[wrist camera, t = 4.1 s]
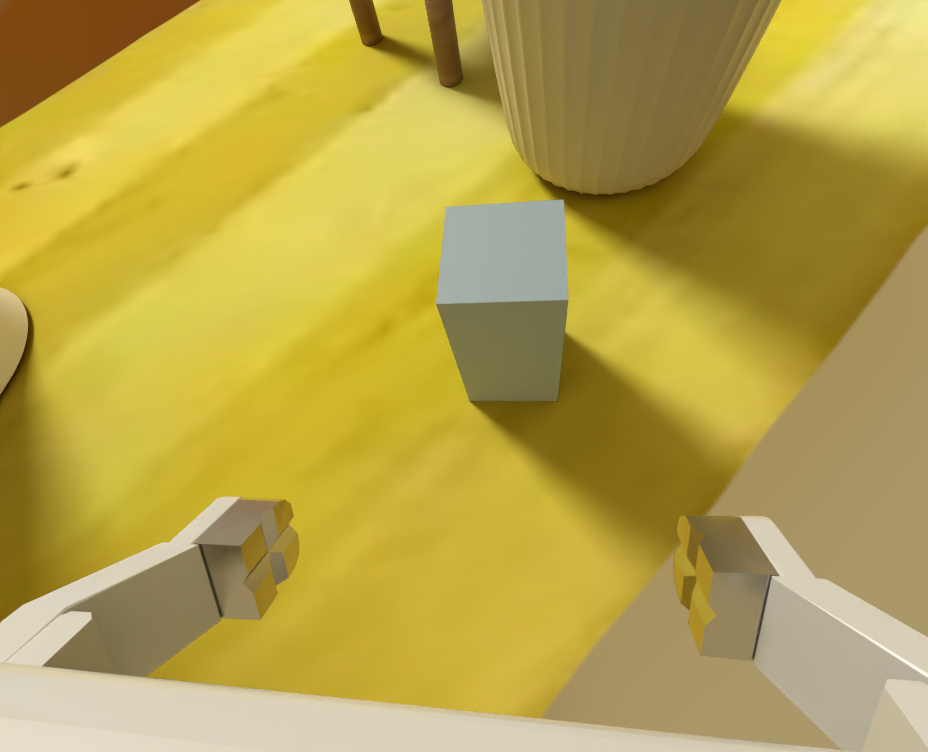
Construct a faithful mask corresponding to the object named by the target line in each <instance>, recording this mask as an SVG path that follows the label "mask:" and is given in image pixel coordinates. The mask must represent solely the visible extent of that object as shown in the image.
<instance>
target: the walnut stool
mask: <svg viewBox="0 0 928 752" xmlns="http://www.w3.org/2000/svg"><path fill="white" fill-rule="evenodd" d="M349 2H350V5H351V8H352V11H353V14H354V17H355V21H356V24H357V27H358V30H359V33H360V37H361V40H362V43H363V44H364V45H368V46H370V45H375V44H377V43H379V42H380V41H381V40H382V33H381V29H380V26H379V22H378V19H377V15H376V11H375V8H374V4H373V0H349ZM425 5H426V10H427V16H428V21H429V26H430V32H431V37H432V42H433V48H434V53H435V58H436V64H437V69H438V74H439V80H440V83H441V85H443V86H445V87H452V86H456V85H458V84H459V83H460V82H461V81H462V79H463V75H462V68H461V61H460V54H459V47H458V40H457V33H456V26H455V19H454V12H453V5H452V0H425Z"/></svg>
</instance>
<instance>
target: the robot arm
mask: <svg viewBox="0 0 928 752" xmlns="http://www.w3.org/2000/svg"><path fill="white" fill-rule="evenodd" d="M27 334H28V319H27V313H26V310H25V307H24V305H23V303H22V302H21V301H20V299H19V298H18V297H17V296H16V295H15V294H13V293H12V292H10V291H8V290H6V289H3V288H0V394H1V393H2V391H3V389H4V388H5V386H6V385H7V383H8V382H9V380H10V378H11V377H12V375H13V373H14V371H15V370H16V368H17V366H18V363H19V361H20V359H21V356H22V354H23V351H24V348H25V344H26V340H27ZM293 517H294V515H293V511H292V507H291V504H290V503H289V502H288V501H286V500H283V499H267V498H250V497H244V498H243V497H228V496H225V497H221V498H217V499H216V500H215V501H214V502H213V503H212V504H211V505H210V506H209V507H207V508H206V509H205V510H204V511H203V512H202V513H201V514H200V515H199V516H198V517H196V518H195V519H194V520H193V521H192V522H191V523H190V524H189V525H188V526H187V527H185V528H184V529H183V530H182V531H181V532H180V533H179V534H178V535H177V536H176V537H174V538H173V539H172V540H171V541H170V542H169V543H160V544H158V545H155V546H153V547H151V548H149V549H146V550H144V551H142V552H140V553H138V554H135V555H133V556H131V557H129V558H126V559H124V560H122V561H120V562H117V563H115V564H113V565H111V566H109V567H106V568H104V569H102V570H100V571H97V572H95V573H93V574H91V575H88V576H86V577H84V578H82V579H79V580H77V581H75V582H73V583H71V584H68V585H66V586H64V587H62V588H59V589H57V590H55V591H53V592H50V593H48V594H46V595H44V596H42V597H39V598H37V599H35V600H33V601H30V602H28V603H26V604H24V605H22V606H21V607H19V608H18V609H17V610H16V611H14V612H13V613H12V614H10V615H9V616H8V617H7V618H5V619H4V620H3V621H1V622H0V752H928V638H927V637H926V636H924V635H922V634H921V633H919V632H917V631H915V630H914V629H912V628H910V627H908V626H907V625H905V624H903V623H902V622H900V621H898V620H896V619H894V618H893V617H891V616H889V615H887V614H886V613H884V612H882V611H881V610H879V609H877V608H875V607H874V606H872V605H870V604H868V603H867V602H865V601H863V600H861V599H859V598H858V597H856V596H854V595H853V594H851V593H849V592H848V591H846V590H844V589H842V588H841V587H839V586H837V585H835V584H834V583H832V582H830V581H828V580H827V579H816V577H815V576H814V575H813V573H812V572H811V571H810V570H809V568H808V567H807V566H806V564H805V563H804V562H803V560H802V559H801V558H800V557H799V556H798V554H797V553H796V551H795V550H794V549H793V548H792V546H791V545H790V544H789V542H788V541H787V540H786V538H785V537H784V536H783V535H782V533H781V532H780V531H779V529H778V528H777V527H776V526H775V524H774V523H773V522H772V520H771V519H769V518H767V517H766V516H736V517H730V516H694V515H681V516H680V518H679V521H678V526H677V535H678V537H679V539H680V542H681V544H682V545H681V546H680V547H679V548H678V549H677V550H676V551H675V552H674V562H673V570H674V582H675V586H676V590H677V594H678V596H679V599H680V602H681V604H682V605H684V606H685V607H686V608H687V609H688V610H690V613H689V621H688V624H689V627H690V629H691V632H692V634H693V637H694V640H695V642H696V645H697V648H698V650H699V653H700V655H701V656H711V657H720V658H729V659H738V660H748V661H754V665H755V666H756V667H757V668H758V669H759V670H760V671H761V672H762V673H764V674H765V675H766V676H767V677H768V678H769V679H770V680H771V681H772V682H773V683H774V684H775V685H776V686H777V687H778V688H779V689H780V690H781V691H782V692H783V693H784V694H785V695H786V696H787V697H788V698H789V699H790V700H791V701H792V702H793V703H794V704H795V705H796V706H797V707H798V708H799V709H800V710H802V712H804V713H805V715H807V716H808V717H809V718H810V719H811V720H812V721H813V722H814V723H815V724H816V725H817V726H818V727H819V728H820V729H821V730H822V731H823V732H824V733H825V734H826V735H827V736H828V737H829V738H830V739H831V740H832V741H833V742H834V743H835V744H836V745H837V746H838V747H839V748H840V749H841V750H834V749H825V748H814V747H805V746H796V745H787V744H777V743H768V742H758V741H748V740H739V739H729V738H719V737H709V736H699V735H690V734H680V733H671V732H661V731H651V730H642V729H633V728H623V727H613V726H605V725H595V724H585V723H577V722H567V721H557V720H548V719H539V718H530V717H520V716H511V715H501V714H492V713H483V712H473V711H463V710H454V709H444V708H435V707H425V706H416V705H406V704H396V703H387V702H377V701H368V700H358V699H349V698H339V697H329V696H320V695H310V694H301V693H291V692H282V691H272V690H262V689H253V688H243V687H234V686H224V685H215V684H205V683H196V682H186V681H177V680H167V679H158V678H148V677H146V676H147V675H149V674H150V673H151V672H153V671H154V670H155V669H157V668H158V667H159V666H161V665H162V664H163V663H165V662H166V661H167V660H169V659H170V658H171V657H173V656H174V655H175V654H177V653H178V652H179V651H181V650H182V649H183V648H185V647H186V646H187V645H189V644H190V643H191V642H193V641H194V640H195V639H197V638H198V637H199V636H201V635H202V634H204V633H205V632H206V631H208V630H209V629H210V628H212V627H213V626H214V625H216V624H217V623H218V622H220V621H221V618H230V619H251V620H261V618H262V617H263V615H264V614H265V612H266V611H267V609H268V608H269V606H270V605H271V603H272V602H273V600H274V599H275V597H276V596H277V594H278V593H277V587H276V585H278V584H279V583H281V582H282V581H284V580H286V579H287V578H289V576H290V574H291V573H292V571H293V570H294V568H295V566H296V562H297V559H298V555H299V539H298V534H297V532H296V531H295V530H294V529H293V528H292V527H291V526H290V525H289V523H290V522H291V520H292V518H293Z"/></svg>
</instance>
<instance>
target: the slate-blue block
mask: <svg viewBox="0 0 928 752" xmlns="http://www.w3.org/2000/svg"><path fill="white" fill-rule="evenodd" d="M436 305H437V307H438V310H439V313H440V316H441V319H442V322H443V325H444V328H445V331H446V334H447V337H448V339H449V342H450V345H451V348H452V351H453V354H454V357H455V360H456V363H457V366H458V369H459V371H460V374H461V377H462V380H463V383H464V386H465V389H466V392H467V395H468V398H469V401H558V392H559V383H560V373H561V364H562V354H563V345H564V336H565V326H566V317H567V307H568V282H567V259H566V237H565V214H564V200H548V201H533V202H517V203H501V204H486V205H470V206H454V207H446V211H445V221H444V231H443V242H442V252H441V262H440V272H439V282H438V292H437V302H436Z"/></svg>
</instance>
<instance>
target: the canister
mask: <svg viewBox="0 0 928 752" xmlns="http://www.w3.org/2000/svg"><path fill="white" fill-rule="evenodd" d="M780 2H781V0H482V4H483V9H484V15H485V20H486V26H487V31H488V37H489V42H490V47H491V52H492V58H493V63H494V68H495V73H496V77H497V82H498V87H499V92H500V96H501V101H502V106H503V110H504V115H505V119H506V123H507V127H508V130H509V133H510V135H511V139H512V142H513V144H514V146H515V148H516V150H517V151H518V153H519V154H520V156H521V158H522V160H523V161H524V162H525V163H526V164H527V165H528V166H529V167H530V168H531V170H532V171H533V172H534V173H536V174H538V175H540V176H541V177H542V179H543V180H545V181H549V182H551V183H553V184H554V185H555V186H557V187H563V188H565V189H566V190H568V191H577V192H580V193H581V194H583V193H590V194H594V195H598V194H608V195H612V194H614V193H626V192H628V191H631V190H640V189H642V188H643V187H645V186H648V185H653V184H655V183H656V182H658V181H659V180H660V179H664V178H667V177H668V176H670V175H671V174H672V173H673V172H674V171H676V170H677V169H679V168H681V167H682V166H683V165H684V164H685V163H686V162H687V161H688V160H689V158H691V157H692V156H693V155H694V154H695V153H696V152H697V150H698V149H699V148H700V147H701V145H702V144H703V142H704V141H705V139H706V137H707V136H708V135H709V133H710V132H711V130H712V128H713V127H714V125H715V123H716V122H717V120H718V118H719V116H720V115H721V113H722V111H723V109H724V107H725V106H726V104H727V102H728V100H729V98H730V96H731V95H732V93H733V91H734V89H735V87H736V86H737V84H738V82H739V80H740V78H741V76H742V75H743V73H744V71H745V69H746V67H747V65H748V63H749V62H750V60H751V58H752V56H753V54H754V52H755V50H756V48H757V46H758V44H759V43H760V41H761V39H762V37H763V35H764V33H765V31H766V29H767V27H768V25H769V23H770V21H771V19H772V17H773V16H774V14H775V12H776V10H777V8H778V6H779V4H780Z"/></svg>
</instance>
